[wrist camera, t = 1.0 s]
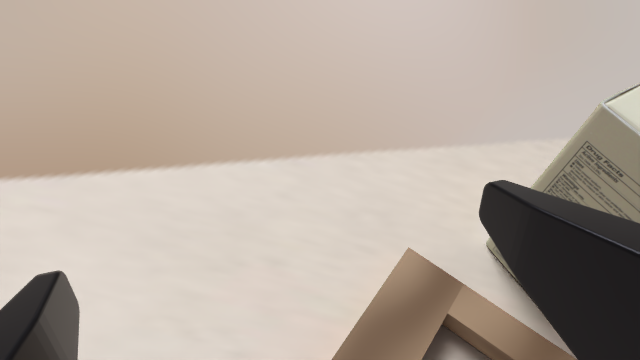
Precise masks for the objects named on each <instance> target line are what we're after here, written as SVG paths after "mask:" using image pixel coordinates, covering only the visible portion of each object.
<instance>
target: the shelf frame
mask: <svg viewBox="0 0 640 360" xmlns="http://www.w3.org/2000/svg"><path fill="white" fill-rule="evenodd" d="M441 324H442V325H444V326H445V327H447V328H448V329H449V330H451V331H452V332H454V333H455V334H457V335H458V336H459V337H461V338H462V339H464V340H465V341H466V342H468V343H469V344H471V345H472V346H474V347H475V348H476V349H478V350H479V351H481V352H482V353H483V354H485V355H486V356H488V357H489V358H491V359H492V360H577V359H575V358H574V357H572V356H571V355H569V354H568V353H566V352H565V351H563V350H562V349H560V348H559V347H557V346H556V345H554V344H553V343H551V342H550V341H548V340H547V339H545V338H544V337H542V336H541V335H539V334H538V333H536V332H535V331H533V330H532V329H530V328H529V327H527V326H526V325H524V324H523V323H521V322H520V321H518V320H517V319H515V318H514V317H512V316H511V315H509V314H508V313H506V312H505V311H503V310H502V309H500V308H499V307H497V306H496V305H494V304H493V303H491V302H490V301H488V300H487V299H485V298H484V297H482V296H481V295H479V294H478V293H476V292H475V291H473V290H472V289H470V288H469V287H467V286H466V285H464V284H463V283H461V282H460V281H458V280H457V279H455V278H454V277H452V276H451V275H449V274H448V273H446V272H445V271H443V270H442V269H440V268H439V267H437V266H436V265H434V264H433V263H431V262H430V261H428V260H427V259H425V258H424V257H422V256H421V255H419V254H418V253H416V252H415V251H413V250H412V249H410V248H409V247H408V249H407V250H406V252H405V253H404V255H403V256H402V258H401V259H400V261H399V262H398V264H397V265H396V266H395V268H394V269H393V271H392V272H391V274H390V275H389V277H388V278H387V280H386V281H385V283H384V284H383V285H382V287H381V288H380V290H379V291H378V293H377V294H376V296H375V297H374V299H373V300H372V301H371V303H370V304H369V306H368V307H367V309H366V310H365V312H364V313H363V315H362V316H361V318H360V319H359V320H358V322H357V323H356V325H355V326H354V328H353V329H352V331H351V332H350V334H349V335H348V337H347V338H346V339H345V341H344V342H343V344H342V345H341V347H340V348H339V350H338V351H337V353H336V354H335V356H334V357H333V358H332V360H422V358H423V356H424V354H425V353H426V351H427V349H428V347H429V345H430V344H431V342H432V340H433V338H434V337H435V335H436V333H437V331H438V329H439V328H440V326H441Z"/></svg>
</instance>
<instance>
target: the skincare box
mask: <svg viewBox="0 0 640 360" xmlns="http://www.w3.org/2000/svg"><path fill="white" fill-rule="evenodd" d="M531 189H534V190H537V191H540V192H543V193H546V194H550V195H553V196H556V197H559V198H562V199H565V200H568V201H572V202H575V203H578V204H581V205H584V206H587V207H590V208H594V209H597V210H600V211H603V212H606V213H609V214H613V215H616V216H619V217H622V218H625V219H628V220H631V221H635V222H638V223H640V83H638V84H636V85H634V86H631V87H630V88H627V89H625V90H623V91H621V92H619V93H617V94H615V95H613V96H611V97H609V98H607V99H605V100H603V101H602V102H601V103H600V104H599V105H598V107H597V108H596V109H595V110H594V112H593V113H592V114H591V115H590V117H589V118H588V119H587V120H586V121H585V123H584V124H583V125H582V126H581V128H580V129H579V130H578V131H577V133H576V134H575V135H574V136H573V137H572V138H571V140H570V141H569V142H568V143H567V144H566V146H565V147H564V148H563V149H562V151H561V152H560V153H559V154H558V155H557V157H556V158H555V159H554V160H553V162H552V163H551V164H550V165H549V166H548V168H547V169H546V170H545V171H544V172H543V174H542V175H541V176H540V177H539V178H538V180H537V181H536V182H535V183H534V184H533V186H532V187H531ZM486 244H487V246H488V248H489V249H490V250H491V251H492V252H493V253H494V255H495V256H496V257H497V258H498V259H499V260H500V262H501V263H502V264H503V265H504V266H505V267H506V269H507V270H508V271H509V272H510V273H511V274H512V275H513V276H514V274H513V273H512V271H511V270H510V268H509V267H508V265H507V264H506V262H505V260H504V259H503V257H502V255H501V254H500V252H499V250H498V249H497V247H496V246H495V244H494V242H493V241H492V239H491V237H490V238H489V239H488V240H487V242H486ZM514 277H515V276H514ZM515 279H516V277H515ZM516 280H517V279H516ZM517 281H518V280H517ZM518 282H519V281H518Z"/></svg>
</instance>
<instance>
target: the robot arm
mask: <svg viewBox="0 0 640 360" xmlns="http://www.w3.org/2000/svg"><path fill="white" fill-rule="evenodd" d="M479 217H480V220H481V222H482V224H483V226H484V227H485V229H486V231H487V232H488V234H489V236H490V237H491V239H492V241H493V242H494V244H495V246H496V247H497V249H498V250H499V252H500V254H501V255H502V257H503V259H504V260H505V262H506V264H507V265H508V267H509V268H510V270H511V271H512V273H513V274H514V276H515V277H516V279H517V280H518V281H519V283H520V284H521V285H522V287H523V288H524V289H525V291H526V292H527V293H528V295H529V296H530V297H531V299H532V300H533V301H534V303H535V304H536V305H537V306H538V308H539V309H540V310H541V312H542V313H543V314H544V316H545V317H546V318H547V320H548V321H549V322H550V324H551V325H552V326H553V328H554V329H555V330H556V332H557V333H558V334H559V336H560V337H561V338H562V340H563V341H564V342H565V343H566V345H567V346H568V347H569V349H570V350H571V351H572V353H573V354H574V355H575V357H576V358H577V359H578V360H640V223H638V222H635V221H631V220H628V219H625V218H622V217H619V216H616V215H613V214H609V213H606V212H603V211H600V210H597V209H594V208H590V207H587V206H584V205H581V204H578V203H575V202H572V201H568V200H565V199H562V198H559V197H556V196H553V195H550V194H546V193H543V192H540V191H537V190H534V189H531V188H528V187H524V186H521V185H518V184H515V183H512V182H509V181H505V180H499V181H494V182H489V183H487V184H486V185H485V187H484V190H483V195H482V199H481V204H480V209H479ZM78 335H79V304H78V301H77V299H76V296H75V294H74V292H73V290H72V288H71V286H70V283H69V281H68V279H67V277H66V275H65V274H64V273H63V272H62V271H53V272H48V273H43V274H39V275H37V276H35V277H34V278H33V279H32V280H31V281H30V282H29V283H28V284H27V285H26V286H25V287H24V288H23V289H22V290H21V291H19V292H18V293H17V294H16V295H15V296H14V297H13V298H12V299H11V300H10V301H9V302H8V303H7V304H6V305H5V306H4V307H3V308H2V309H1V310H0V360H77V358H78Z"/></svg>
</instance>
